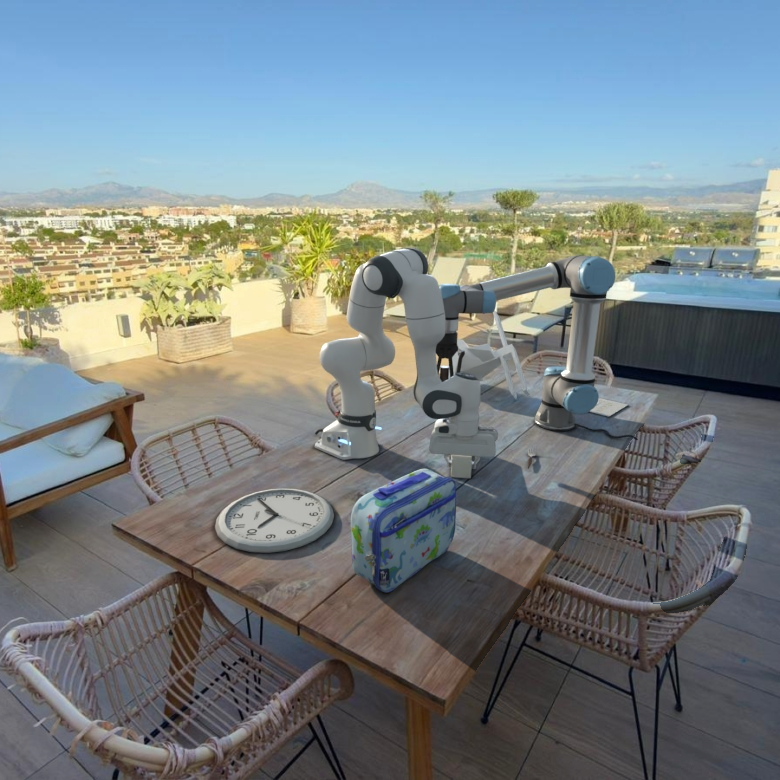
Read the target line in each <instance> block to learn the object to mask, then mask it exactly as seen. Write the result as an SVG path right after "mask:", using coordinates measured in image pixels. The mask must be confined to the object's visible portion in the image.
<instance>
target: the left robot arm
mask: <svg viewBox="0 0 780 780" xmlns="http://www.w3.org/2000/svg"><path fill="white" fill-rule="evenodd" d="M428 271H429V261H428V259H427V256H426V255H425V254H424V252H422V251H421V250H420V249H418V248H413V247H405V248H403V249H395V250H390V251H387V252H386V253H382V254H380V255H375V256H373V257H371V258H370V259H369V260H367V261H366V262H365V263H363V264H361V265H359V266H358V267H357V269H356V270H355V273H354V276H353V279H352V282H351V286H350V291H349V296H348V297H349V298H348V303H347V310H346V321H347V324H348V325H349V327H350V328H351V329H353V330H354V331H356V332H358V333H359V334H358V336H356V337H348V338H347V337H346V338H338V339H333V340H331V341H327V342H325V343H324V344H322V346H321V348H320V350H319V356H318V357H319V363H320V366H321V368H323V370H324V371H325V372H326V373H328V374H329V375H331V376H332V377H333V378H334V379H335V381H336V383H337V385H338V387H339V390H340V391H339V392H340V402H341V408H340V409H338V411H336V412H335V414H334V416H335V417H337V418H336V420H334V421H333V422H331V423H330V424H328V425H327V426H325V427H323V428H319V429H317V430H316V431H315V432H314V434H315V435H316V436H317V435H318V434H319V433H321V438H320V439H318V440H317V441H316V442H315V443H314V448H315V449H316V450H318V451H321V452H323V453H326V454H328V455H331V456H333V457H335V458H337V459H339V460H343V461H347V460H352V459H366V458H370V457H374V456H375V455H377V454H378V453H379V452H380V447H379V443H378V438H377V431H376V430H381V431H382V427H380V426H376V425H377V411H376V390H375V388H374V387H373V385H372V384H371V383H369V382H367V381H366V380H363V379H361V373H360V372H365V371H372V370H378V369H382V368H385V367H387V366H390V365H392V364H393V362H394V360H395V357H396V347H395V345H394V342H393V341H392V340H391V338H389V337H388V336H387V335H386V333H385V332H384V327H383V320H384V312H385V306H386V301H387V298H389V299H392V300H393V299H395V298H397V296H398V297H399V298H400V300H402V303H403V307H404V317H405V322H406V327H407V331H408V335H409V338H410V341H411V343H412V346H413V351H414V359H415V367H416V380H415V382H414V386H413V392H412V393H413V398H414V399H415V402H416V403H417V404H418V405H419V406H420V408H421V409H422V412H423V413H424V414H425V415H426V416H427V417H429V418H430V419H432V420H435V422H434V426H433V427H434V428H433V429H432V432H431V434H430V438H429V439H430V440H429V448H428V450H429V452H430V453H431V454H433V455H443V458H444V460H445V463H446V467H447V468H451V467H452V460H451V459H450V458H449V456H451V455H463V456H472V457H475V458H474V461H472V468H471V470H476V469H477V465H478V463H479V462H480V461H481V458H494V457H495V456H496V454H497V446H496V442H497V440H498V438H499V431H498V430H497V429H495V428H494V427H493V426H480V423H479V422H480V414H479V409H480V406H481V381H480V382H479V380H478V379H477V378H476V377H475V376H473V375H471V374H468V373H462V372H459V373H455V374H454V375H453V376H452V377H451V378H449V379H448V380H446V381H444V382H442V381H441V379H440V375H438V372H437V362H438V360H437V354H436V346H437V344H438V343H439V342H440V341H441V340H442V339H443V337H444V335H445V326H446V320H445V311H444V304H443V299H442V295H441V291H440V288H439V285H440V284H439V281H438V280H437V279H436V277H434V276H433V275H431V274H428Z"/></svg>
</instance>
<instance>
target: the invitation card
mask: <svg viewBox="0 0 780 780" xmlns="http://www.w3.org/2000/svg"><path fill="white" fill-rule="evenodd" d="M628 406H629V404H627V403H623V402H618V401H614V400H609V399H605V398H601V397H599V399H598V402H597V404H596V406H595V407H594V408H593V409H591V410H590V411H589V412H588V413H593V414H596V415H600V416H604V417H608V418H609V417H611V416H613V415H614V414H616V413H617V412H619V411H621V410H623V409H624V408H626V407H628Z"/></svg>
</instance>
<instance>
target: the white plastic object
mask: <svg viewBox="0 0 780 780" xmlns="http://www.w3.org/2000/svg"><path fill="white" fill-rule="evenodd" d="M492 315H493V319H494V321H495V324H496V325H495V326H496V328H497V332H498V335H499V338H500V342H501V345H502V347H500V348H498V349H496V350H495V349H493V348H492V347H491V346H490V344H489V343H488V342H487V343H483V344H479V345H473V346H469V345H468V343H466V342H465V340H464V339H463V338H460V339H458V338H457V346H458V348H459V349H461V350H464V351H465V355H464V356H463V358H462V364H461V371H460V372H462V373H468V374H471V375H473V376H475V377H476V378H477V379H478V380H479V382H480V383H481V382H482V381H484V378H485V377H486V376H487V375H489V374H490V373H492V372H494V371H495V370H496V369H497V368H499V367H500V366H502V370H503V373H504V376H505V380H506V383H507V386H508V390H509V393H510V394H511V395H512V397H513V398H514V399H515V400H517V392H516V391H517V390H516V388H515V385H514V381H513V378H512V375H511V371H510V369H509V365H508V361H510V360H513V363H514V366H515V369H516V372H517V376H518V380H519V382H520V385H521V389H522V391H523V393H524V395H525V396H526V397H528V396H531V395H530V390H529V388H528V387H529V386H528V384H527V381H526V378H525V375H524V371H523V369H522V368H523V367H522V366H521V362H520V359H519V355H518V352H517V349H516V347H515V346H514V345H513V343H511V344H508V341H507V337H506V334H505V331H504V328H503V325H502V321H501V318H500V315H499V314H498V312H497V311H496V310H494V311H493V312H492ZM458 358H459V356H458V352H456V353H455V355H454V356H453V357H452V362H453V372H454V374H455V373H456V372H457V365H458ZM447 366H448V367H449V365H447ZM439 373H440V370H439ZM449 378H450V370H449Z"/></svg>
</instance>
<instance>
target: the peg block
mask: <svg viewBox="0 0 780 780" xmlns="http://www.w3.org/2000/svg"><path fill="white" fill-rule="evenodd" d="M450 457H451V459H450V460H452V467H450V478H456V479H457V478H459V479H471V478H472V469H471V468H472V462H473V456H463V455H450Z"/></svg>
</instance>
